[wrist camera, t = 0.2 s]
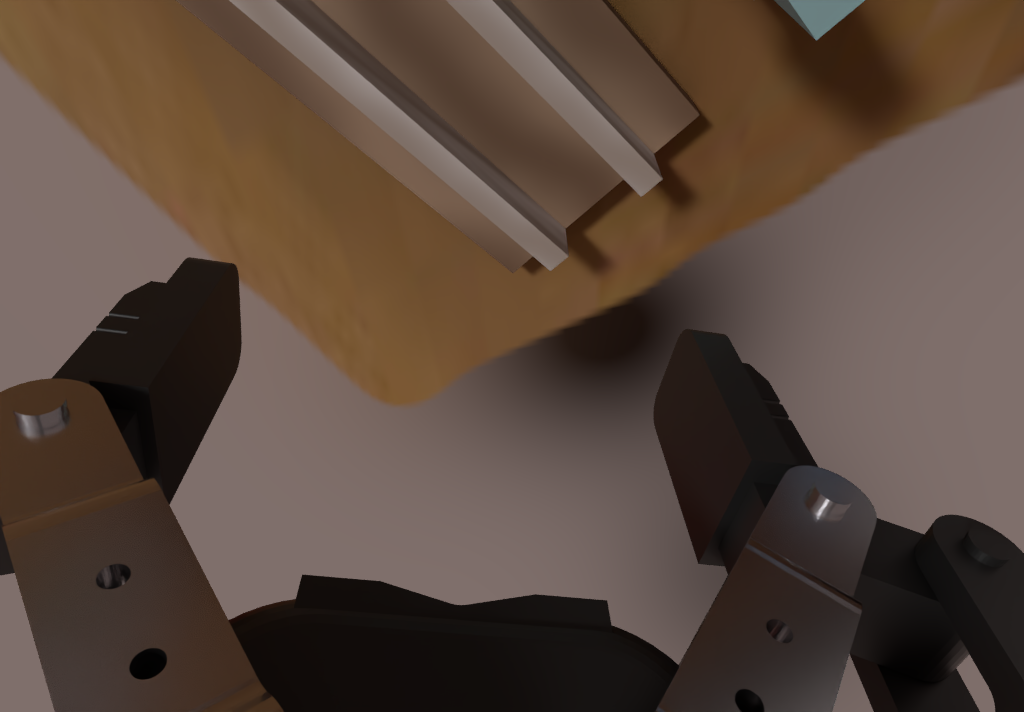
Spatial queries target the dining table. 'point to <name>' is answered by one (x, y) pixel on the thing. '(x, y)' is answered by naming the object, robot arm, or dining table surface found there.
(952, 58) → the dining table surface
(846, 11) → the door panel
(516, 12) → the base
